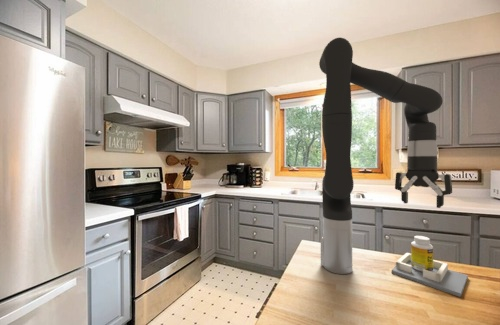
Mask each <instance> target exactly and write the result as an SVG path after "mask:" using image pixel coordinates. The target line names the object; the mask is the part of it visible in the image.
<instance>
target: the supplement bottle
mask: <svg viewBox="0 0 500 325" xmlns="http://www.w3.org/2000/svg"><path fill="white" fill-rule="evenodd" d="M410 248H411V249H410V252H411V253H410V254H411V265H412V267H413V268H414V269H416V270H418V271H421V272H423V270H424V269H425V270H428V271H431V272H432V271H433V260H434V246H433V245H432V244H431V238H429V237H427V236H424V235H414V237H413V241H411V243H410Z"/></svg>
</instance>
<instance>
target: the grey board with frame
mask: <svg viewBox="0 0 500 325" xmlns="http://www.w3.org/2000/svg"><path fill="white" fill-rule="evenodd" d="M448 266H449V264H448V263H446V262H443V261H439V260H435V259H433V271H432V272H431V271H428V270H425V269H424V270H423V272H421V271H418V270H416V269H414V268H413V267H412V265H411V253H410V252H405V253H404V254H403V255H402V256H401V257H400V258H398V259H397V260H396V262H395V266H394V267H393V268H392V269H391V274H393V275H396V276H400V277H402V278H405V279H408V280H411V281H413V282H417V283H419V284H422V285H425V286H427V287H430V288H434V289H437V290H439V291H442V292H445V293H447V294H450V295H453V296H456V297H459V298H461V297H462V296H463V295H462V294H464V289H465V287H466V285H467V281H468V279H469V278H468V277H469V275H468V274H464V273H461V272H458V271H454V270H451V269H449V267H448Z"/></svg>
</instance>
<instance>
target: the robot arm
mask: <svg viewBox="0 0 500 325" xmlns="http://www.w3.org/2000/svg"><path fill="white" fill-rule="evenodd" d="M353 54H354V51H353V46H352V44H351V43H350V41H349V40H347V39H346V38H345V37H336V38H333V39H332V40H330V41H329V42H328V43H327V44H326V45H325V46H324V49H323V51H322V54H321V56H320V59H319V61H318V63H319V64H318V65H319V69H320V70H321V72H322V73H324V75H326V76H325V78H326V84H325V92H324V98H323V103H322V109H321V110H322V111H321V129H322V130H321V131H322V140H323V147H324V150H325V170H324V176H323V178H322V180H321V181H322V183H321V185H322V186H321V188H322V189H321V190H322V191H321V194H322V237H320V265H321V266H322V267H323V268H324V269H325V270H327V271H329V272H331V273H334V274H337V275H347V274H351V273H352V272H353V264H354V263H353V209H352V201H351V195H352V191H353V190H354V177H353V176H354V175H353V171H352V170H353V169H352V162H351V151H352V149H351V148H352V139H353V137H352V134H353V133H352V132H353V111H352V90H351V89H352V88H351V84H353V85H356V86H358V87H359V88H363V89H365V90H367V91H370V92H371V93H372V94H373V93H374V94H375V95H377V96H379V97H381V98H383V99H385V100H387V101H389V102H391V103H394V104H399V103H400V104H401V103H403V104H404V108H403V111H404V118H405V121H406V125H407V128H408V141H407V142H408V144H407V152H406V153H407V156H406V157H407V163H406V164H407V167H406V168H407V170H406V172H401V171H399V172H396V173H395V179H394V182H395V183H394V189H395V191H396V190H397V191H399V192H401V198H400V199H401V202H403V204H408V203H409V192H408V191H409V190H410V189H411V188H412V187H413V186H414V187H423V188H429V187H430V188H431V190H433V191H434V192H435V193H436V194H437V195H436V208H437V209H440V208H442V207H443V206H444V204H445V200H444V199H445V196H446V195H447V196H449V195H451V194H452V193H453V184H452V182H453V181H452V175H451V174H449V173H447V174H446V173H445V174H439V172H438V144H437V125H436V123H435V122H432V121H429V117H428V114H431V113H434V112H436V111H438V110H439V109H441V107H442V105H443V101H444V100H443V98H442V95H441V94H440V93H439V92H438V91H437V90H435V89H433V88H430V87H427V86H424V85H421V84H417V83H412V82H411V83H410V82H408V81H406V80H405V79H403V78H400V77H399V76H397V75H394V74H392V73H390V72H387V71H383V70H380V69H373V68H367V67H363V66H360V65H358V64H356V63H355V62H353V57H354V56H353ZM405 178H407V180H408V182H406V184H405V185H404V186H402V185H403V184H402V183H403V179H405ZM439 179H440V180H441V181H442V182H444V189H445V190H443V189H442V188H441V187H440V185H439V184H438V183H437V180H439Z"/></svg>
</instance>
